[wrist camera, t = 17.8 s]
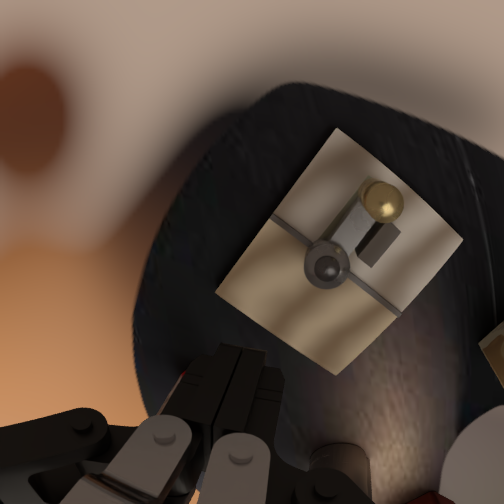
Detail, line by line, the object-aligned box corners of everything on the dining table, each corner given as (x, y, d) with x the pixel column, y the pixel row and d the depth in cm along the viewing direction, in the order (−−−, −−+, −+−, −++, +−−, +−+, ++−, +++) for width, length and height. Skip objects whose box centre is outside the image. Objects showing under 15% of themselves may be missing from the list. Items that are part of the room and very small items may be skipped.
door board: (459, 236, 31) (474, 247, 27) (335, 369, 38) (336, 391, 34) (335, 128, 30) (338, 125, 26) (217, 288, 38) (206, 304, 34)
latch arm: (330, 286, 33) (332, 312, 28) (296, 263, 33) (292, 285, 28) (400, 195, 29) (416, 204, 24) (364, 167, 29) (375, 171, 24)
